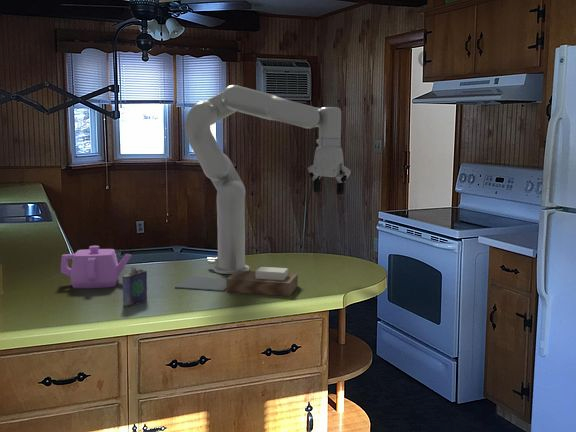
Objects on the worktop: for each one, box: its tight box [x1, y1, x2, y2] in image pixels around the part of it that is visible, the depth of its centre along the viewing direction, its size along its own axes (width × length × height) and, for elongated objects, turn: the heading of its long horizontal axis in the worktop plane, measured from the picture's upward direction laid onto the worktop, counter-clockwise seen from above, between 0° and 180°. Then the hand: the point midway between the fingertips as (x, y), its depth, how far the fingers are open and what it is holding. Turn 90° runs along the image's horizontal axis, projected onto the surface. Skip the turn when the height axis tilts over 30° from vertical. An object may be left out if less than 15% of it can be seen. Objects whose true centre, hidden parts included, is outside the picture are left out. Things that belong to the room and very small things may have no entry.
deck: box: [225, 270, 299, 297], centre depth 208 cm, size 20×12×4 cm, turn 77°
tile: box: [255, 266, 289, 280], centre depth 207 cm, size 9×6×2 cm, turn 77°
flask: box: [122, 265, 148, 308], centre depth 192 cm, size 9×3×11 cm, turn 151°
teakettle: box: [60, 245, 132, 289], centre depth 213 cm, size 17×17×12 cm
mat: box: [174, 276, 227, 292], centre depth 214 cm, size 16×14×1 cm
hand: (328, 192), depth 229 cm, fingers open, 9 cm apart
